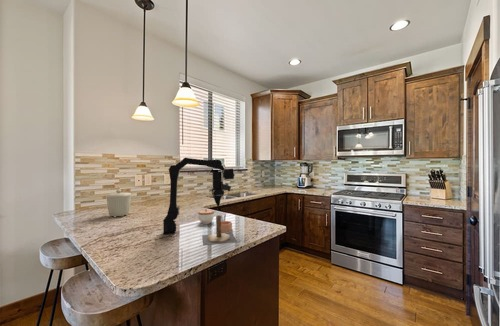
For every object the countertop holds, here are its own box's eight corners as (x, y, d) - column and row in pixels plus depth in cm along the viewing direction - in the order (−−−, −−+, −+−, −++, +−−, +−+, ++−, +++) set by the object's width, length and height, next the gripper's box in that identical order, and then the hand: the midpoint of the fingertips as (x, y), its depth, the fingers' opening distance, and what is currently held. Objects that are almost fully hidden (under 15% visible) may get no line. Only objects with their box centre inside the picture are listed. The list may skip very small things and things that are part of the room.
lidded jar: (210, 225, 144) (210, 210, 144) (195, 224, 146) (195, 210, 146) (216, 221, 155) (216, 207, 155) (202, 220, 157) (201, 207, 157)
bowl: (218, 232, 127) (218, 225, 127) (217, 228, 135) (216, 221, 136) (232, 231, 129) (232, 224, 129) (230, 227, 138) (230, 220, 138)
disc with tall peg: (208, 243, 110) (208, 219, 110) (207, 236, 121) (206, 214, 121) (231, 241, 112) (231, 217, 113) (228, 234, 124) (227, 212, 124)
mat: (203, 246, 107) (203, 245, 107) (202, 235, 122) (202, 235, 122) (237, 242, 111) (237, 242, 111) (232, 233, 126) (232, 232, 126)
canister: (133, 216, 172) (133, 189, 172) (105, 219, 162) (105, 191, 162) (130, 212, 187) (130, 187, 187) (105, 215, 177) (105, 189, 177)
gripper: (232, 180, 129) (232, 206, 129) (227, 178, 148) (228, 201, 147) (213, 180, 127) (213, 208, 127) (211, 178, 145) (211, 202, 145)
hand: (217, 204), depth 136 cm, fingers open, 9 cm apart
